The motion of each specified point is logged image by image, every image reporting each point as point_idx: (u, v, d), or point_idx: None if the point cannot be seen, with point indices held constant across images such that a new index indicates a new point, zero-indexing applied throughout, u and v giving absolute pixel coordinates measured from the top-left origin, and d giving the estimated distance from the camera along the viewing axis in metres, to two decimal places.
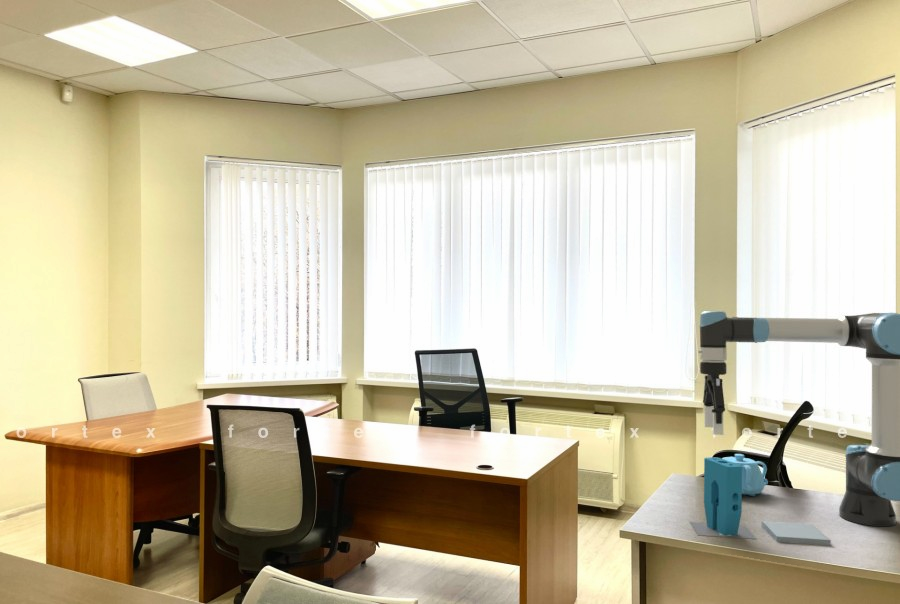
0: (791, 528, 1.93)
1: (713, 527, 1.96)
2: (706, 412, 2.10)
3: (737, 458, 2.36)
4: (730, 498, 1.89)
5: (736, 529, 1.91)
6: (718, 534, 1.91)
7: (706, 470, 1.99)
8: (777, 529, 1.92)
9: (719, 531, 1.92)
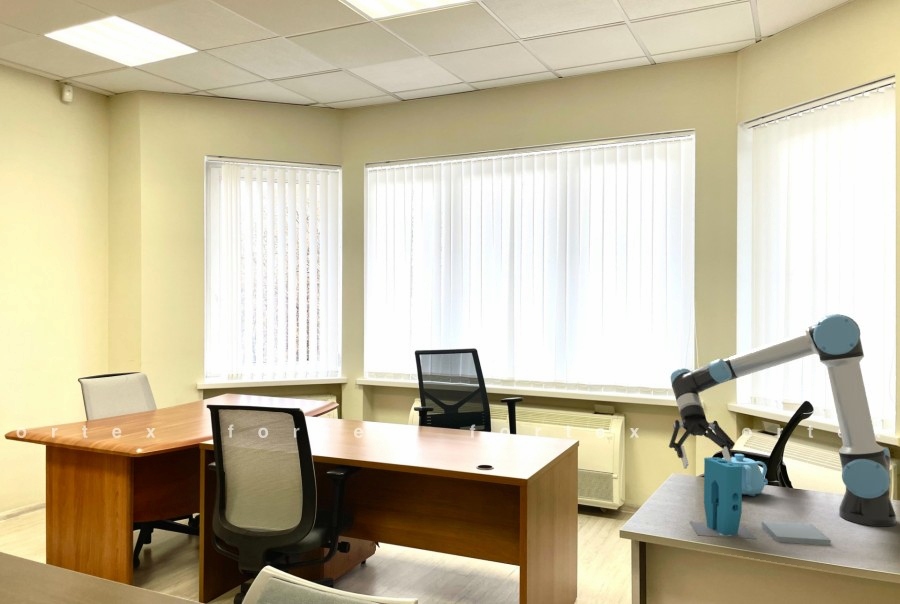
0: (791, 528, 1.93)
1: (713, 527, 1.96)
2: (724, 455, 2.08)
3: (737, 458, 2.36)
4: (730, 498, 1.89)
5: (736, 529, 1.91)
6: (718, 534, 1.91)
7: (706, 470, 1.99)
8: (777, 529, 1.92)
9: (719, 531, 1.92)
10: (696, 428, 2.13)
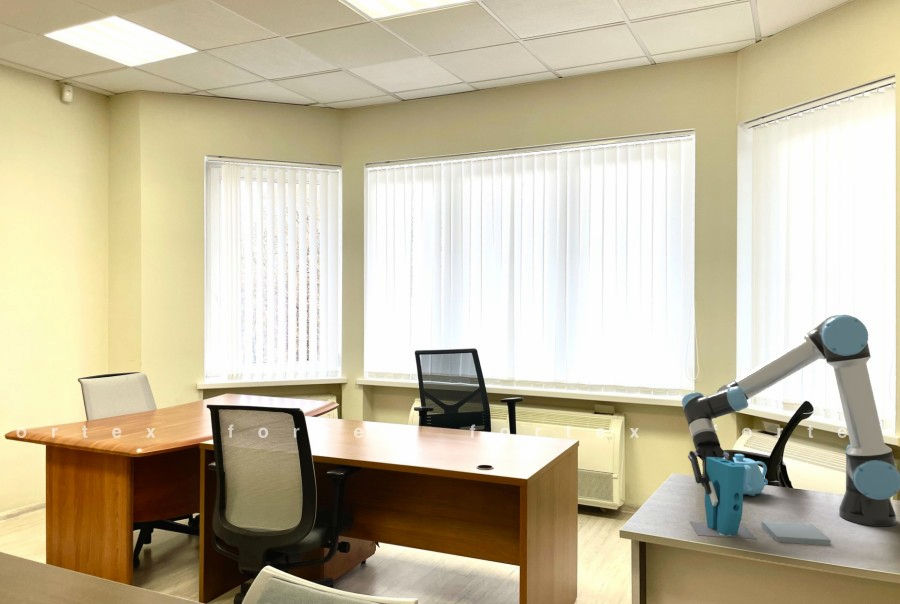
0: (791, 528, 1.93)
1: (713, 527, 1.96)
2: None
3: (737, 458, 2.36)
4: (731, 498, 1.89)
5: (736, 529, 1.91)
6: (718, 534, 1.91)
7: (707, 469, 1.99)
8: (777, 529, 1.92)
9: (719, 530, 1.92)
10: (710, 456, 2.04)
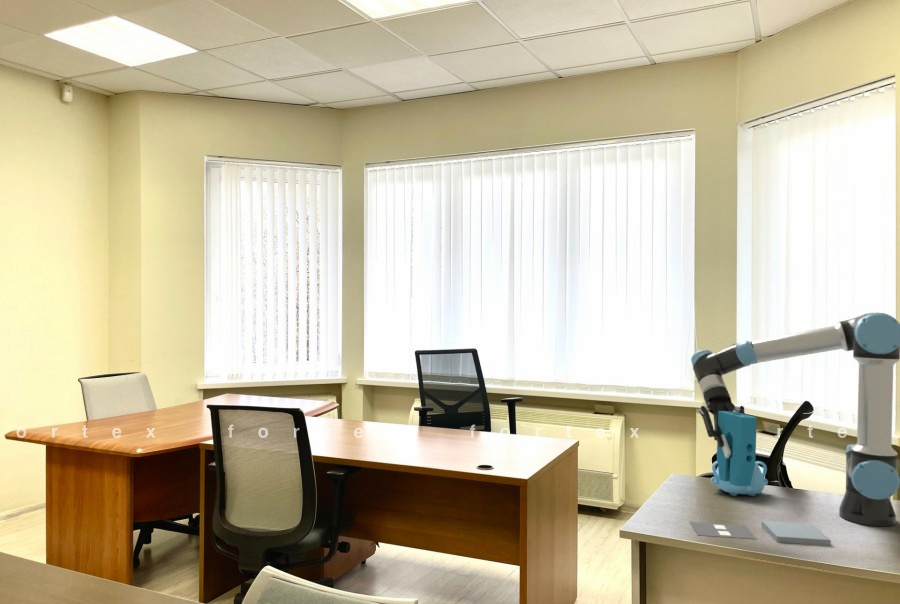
0: (791, 528, 1.93)
1: (726, 479, 1.95)
2: None
3: None
4: (744, 449, 1.89)
5: (749, 480, 1.91)
6: (718, 534, 1.91)
7: (720, 423, 1.99)
8: (777, 529, 1.92)
9: (732, 482, 1.92)
10: None
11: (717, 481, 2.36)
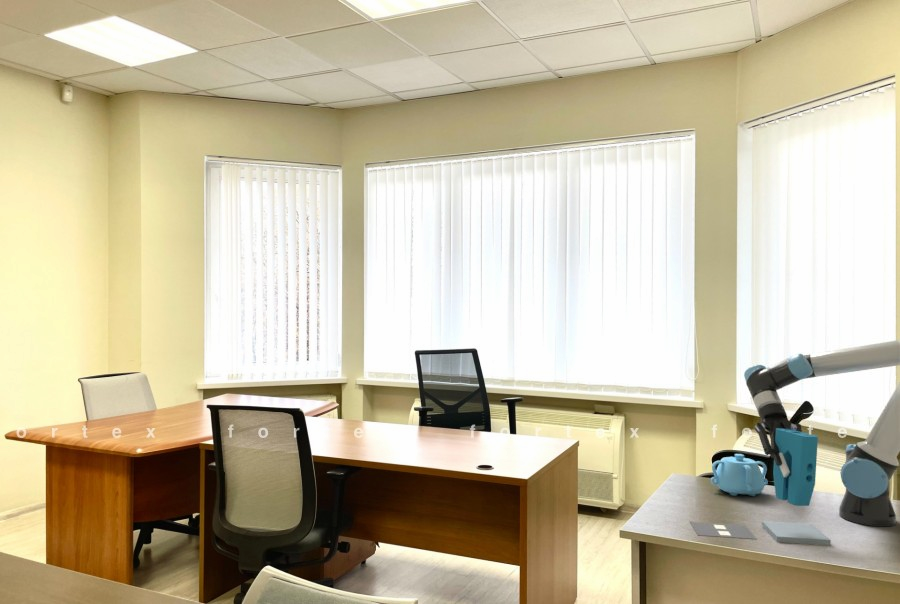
0: (791, 528, 1.93)
1: (783, 498, 1.93)
2: None
3: (737, 458, 2.36)
4: (805, 468, 1.86)
5: (808, 500, 1.88)
6: (718, 534, 1.91)
7: (777, 440, 1.96)
8: (777, 529, 1.92)
9: (790, 502, 1.89)
10: None
11: (717, 481, 2.36)
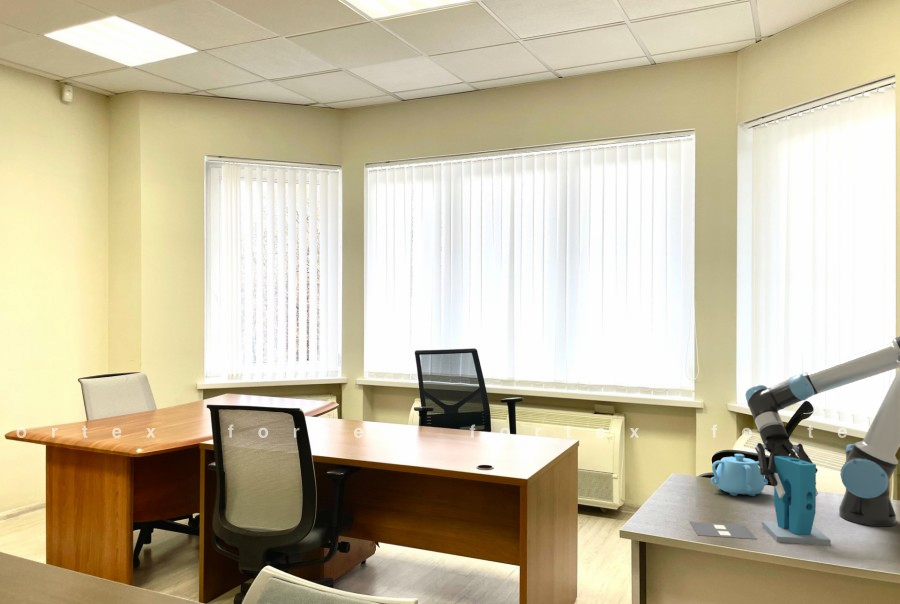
0: None
1: (785, 527, 1.92)
2: None
3: (737, 458, 2.36)
4: (804, 497, 1.86)
5: (810, 529, 1.88)
6: (718, 534, 1.91)
7: (776, 468, 1.96)
8: (777, 529, 1.92)
9: (792, 531, 1.89)
10: (780, 450, 2.00)
11: (717, 481, 2.36)
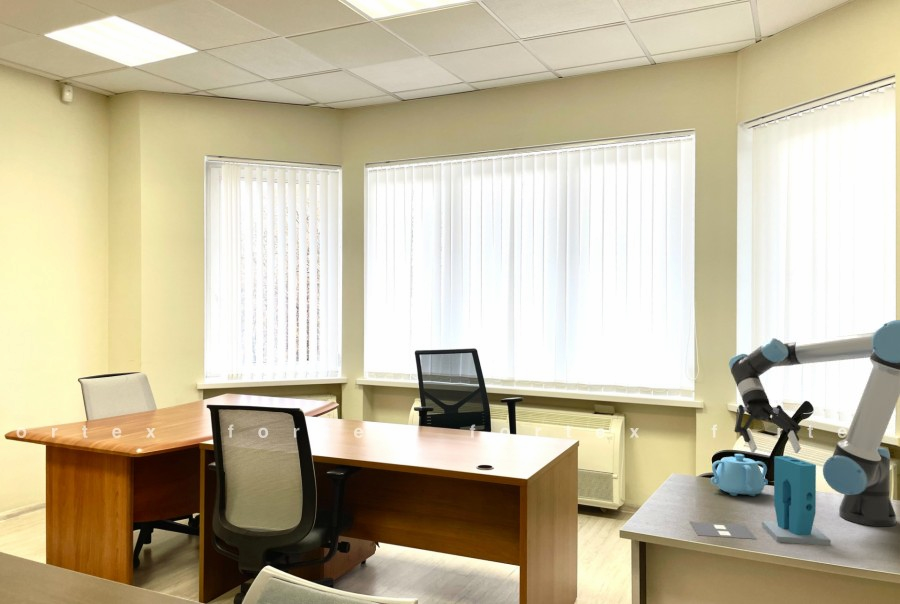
0: None
1: (785, 527, 1.92)
2: (790, 439, 2.08)
3: (737, 458, 2.36)
4: (804, 497, 1.86)
5: (810, 529, 1.88)
6: (718, 534, 1.91)
7: (776, 469, 1.96)
8: (777, 529, 1.92)
9: (792, 531, 1.89)
10: (760, 413, 2.12)
11: (717, 481, 2.36)
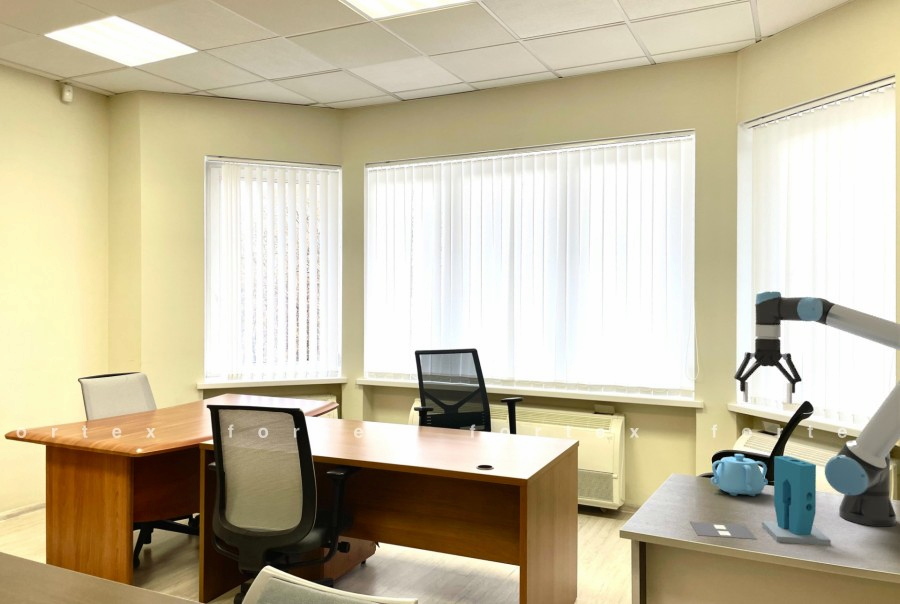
0: None
1: (785, 527, 1.92)
2: (787, 388, 2.19)
3: (737, 458, 2.36)
4: (804, 497, 1.86)
5: (810, 529, 1.88)
6: (718, 534, 1.91)
7: (776, 469, 1.96)
8: (777, 529, 1.92)
9: (792, 531, 1.89)
10: (766, 362, 2.18)
11: (717, 481, 2.36)
